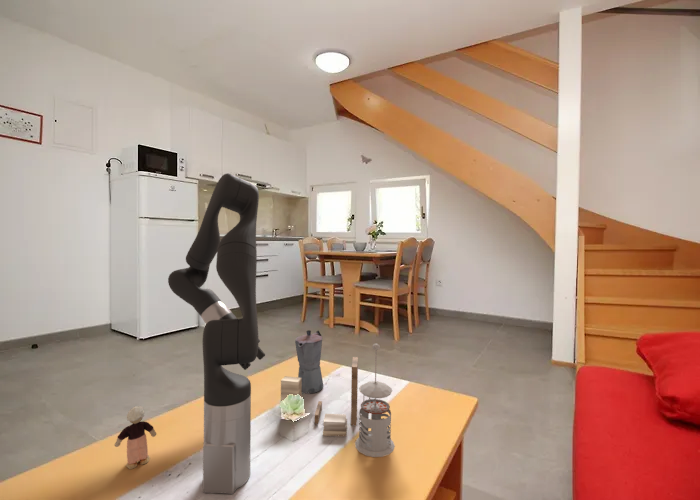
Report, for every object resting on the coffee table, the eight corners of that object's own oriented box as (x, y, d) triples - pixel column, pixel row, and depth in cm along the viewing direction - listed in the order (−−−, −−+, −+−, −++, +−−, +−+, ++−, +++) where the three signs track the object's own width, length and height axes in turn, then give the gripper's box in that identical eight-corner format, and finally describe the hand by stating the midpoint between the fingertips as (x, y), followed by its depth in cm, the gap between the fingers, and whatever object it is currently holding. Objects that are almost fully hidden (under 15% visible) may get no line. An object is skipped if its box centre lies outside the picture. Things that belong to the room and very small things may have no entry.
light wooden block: (297, 421, 93) (297, 382, 93) (280, 419, 94) (280, 380, 94) (301, 415, 96) (301, 377, 96) (284, 414, 97) (285, 376, 97)
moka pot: (286, 395, 109) (287, 333, 109) (306, 377, 124) (307, 323, 123) (314, 399, 106) (314, 336, 106) (330, 380, 121) (331, 325, 121)
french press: (361, 460, 77) (363, 351, 76) (348, 432, 88) (349, 337, 87) (401, 453, 79) (403, 348, 79) (383, 427, 91) (384, 335, 90)
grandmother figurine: (151, 452, 79) (151, 398, 78) (157, 459, 76) (157, 403, 76) (112, 468, 73) (112, 410, 72) (118, 476, 70) (118, 416, 70)
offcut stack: (346, 436, 86) (346, 422, 86) (322, 435, 86) (323, 421, 86) (347, 427, 90) (347, 414, 90) (324, 426, 91) (325, 413, 91)
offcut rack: (356, 425, 91) (357, 367, 91) (314, 424, 92) (315, 365, 91) (357, 410, 99) (357, 357, 99) (318, 409, 100) (319, 356, 99)
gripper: (214, 317, 92) (251, 362, 90) (242, 307, 106) (275, 346, 103) (197, 334, 93) (233, 380, 91) (226, 323, 107) (259, 362, 105)
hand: (255, 362), depth 97 cm, fingers open, 8 cm apart
